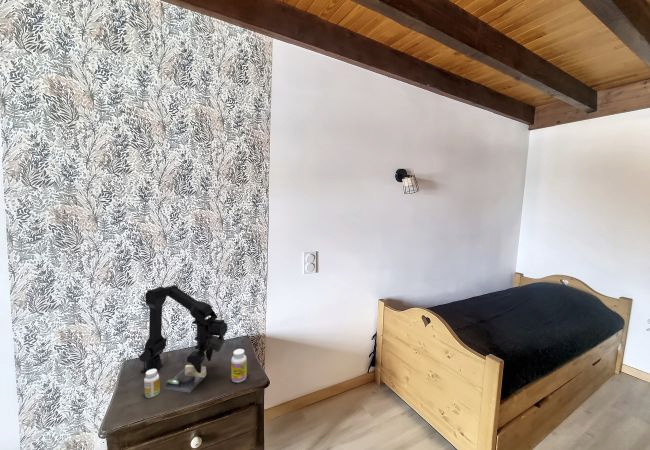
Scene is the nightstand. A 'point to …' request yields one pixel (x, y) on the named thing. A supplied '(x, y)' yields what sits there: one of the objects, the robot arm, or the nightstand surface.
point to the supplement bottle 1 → (151, 383)
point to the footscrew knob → (190, 374)
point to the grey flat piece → (185, 387)
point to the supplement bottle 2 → (238, 366)
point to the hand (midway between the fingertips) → (204, 366)
